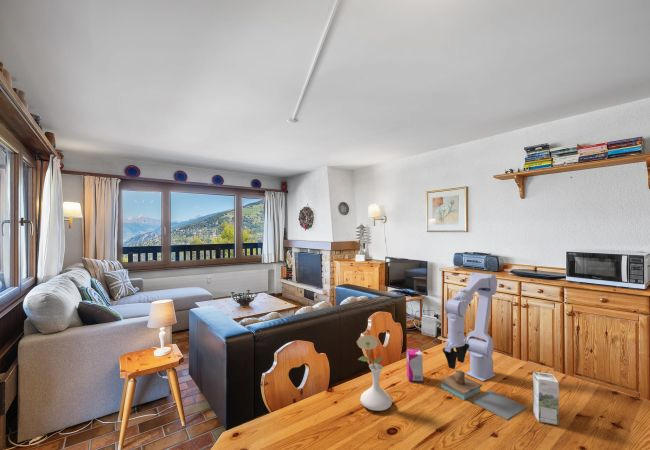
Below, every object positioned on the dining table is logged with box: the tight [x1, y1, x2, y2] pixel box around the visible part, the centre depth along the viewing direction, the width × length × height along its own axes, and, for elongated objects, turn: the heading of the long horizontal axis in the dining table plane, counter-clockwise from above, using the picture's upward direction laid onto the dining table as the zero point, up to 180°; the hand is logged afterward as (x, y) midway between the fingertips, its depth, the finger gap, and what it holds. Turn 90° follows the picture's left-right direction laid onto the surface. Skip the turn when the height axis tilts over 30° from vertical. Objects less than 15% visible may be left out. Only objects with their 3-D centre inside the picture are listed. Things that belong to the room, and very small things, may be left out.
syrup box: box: [532, 371, 560, 426], centre depth 101 cm, size 6×6×14 cm
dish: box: [440, 382, 481, 401], centre depth 118 cm, size 10×10×2 cm
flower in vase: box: [356, 334, 393, 412], centre depth 110 cm, size 13×11×25 cm
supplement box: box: [406, 348, 424, 383], centre depth 128 cm, size 6×6×12 cm
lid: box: [438, 369, 483, 395], centre depth 119 cm, size 11×11×5 cm
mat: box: [470, 389, 528, 421], centre depth 109 cm, size 13×13×1 cm
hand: (456, 364), depth 118 cm, fingers open, 7 cm apart
